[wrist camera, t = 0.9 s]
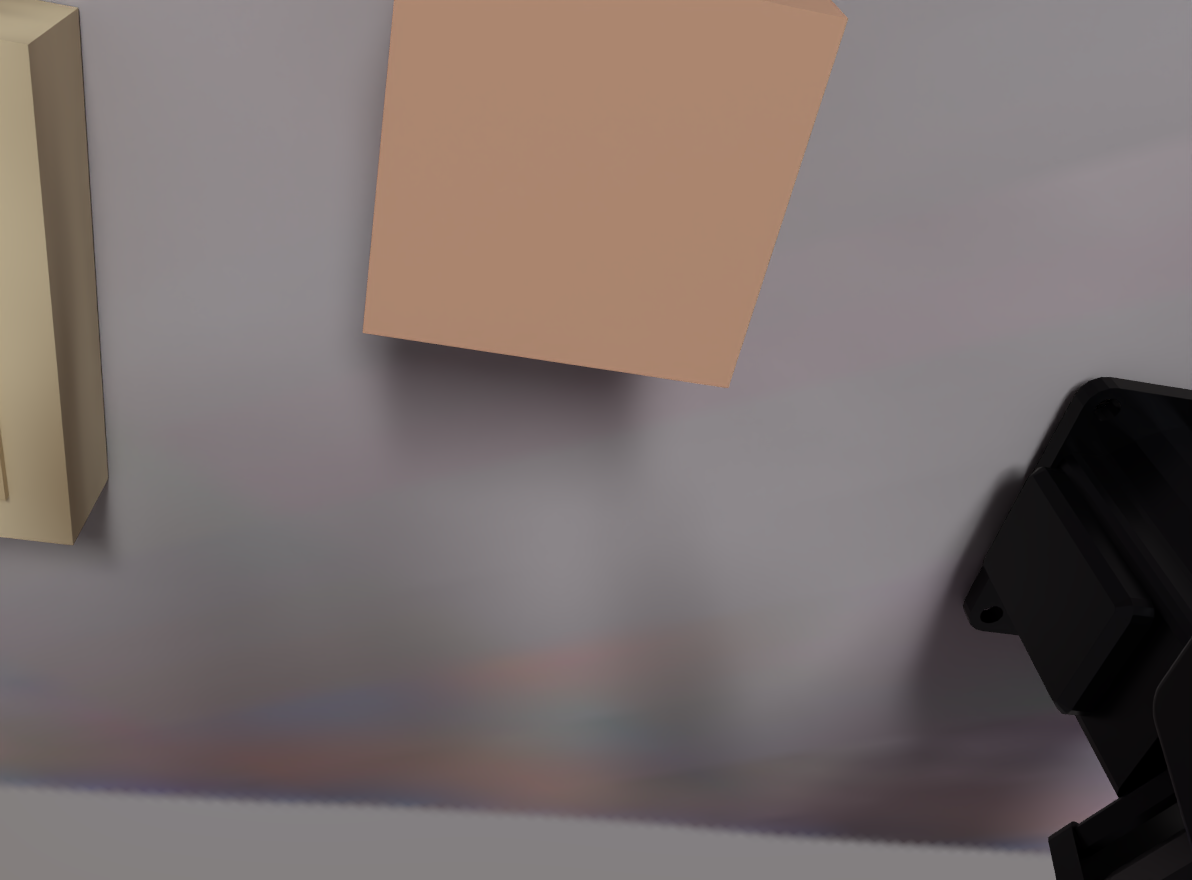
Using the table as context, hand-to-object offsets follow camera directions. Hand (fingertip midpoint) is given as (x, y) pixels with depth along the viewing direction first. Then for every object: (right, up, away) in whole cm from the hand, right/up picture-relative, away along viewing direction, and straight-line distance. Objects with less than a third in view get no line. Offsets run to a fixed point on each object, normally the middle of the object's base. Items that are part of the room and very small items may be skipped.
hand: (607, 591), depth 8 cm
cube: (0, +7, +10) cm, 12 cm away
